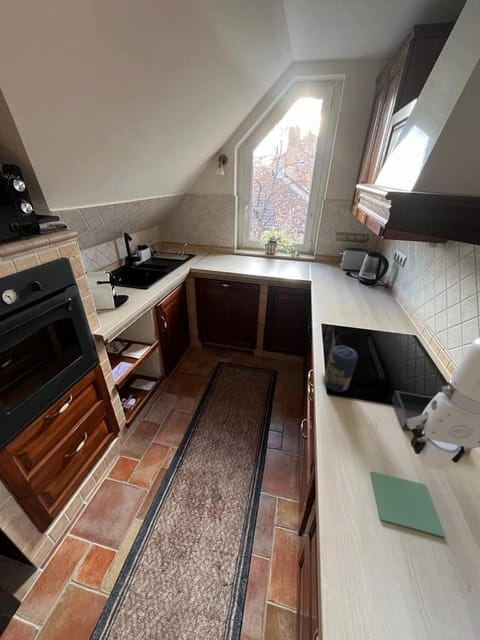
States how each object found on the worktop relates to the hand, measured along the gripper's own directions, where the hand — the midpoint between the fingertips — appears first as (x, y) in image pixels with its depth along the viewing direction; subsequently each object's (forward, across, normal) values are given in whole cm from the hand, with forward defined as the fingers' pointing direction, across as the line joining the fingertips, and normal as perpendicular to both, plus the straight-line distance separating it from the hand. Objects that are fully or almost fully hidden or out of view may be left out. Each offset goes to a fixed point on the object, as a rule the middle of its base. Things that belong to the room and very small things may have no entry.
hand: (433, 452), depth 58 cm
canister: (+19, -15, +38) cm, 45 cm away
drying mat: (+19, -1, -2) cm, 19 cm away
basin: (+19, +13, +29) cm, 37 cm away
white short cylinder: (+2, 0, 0) cm, 2 cm away
